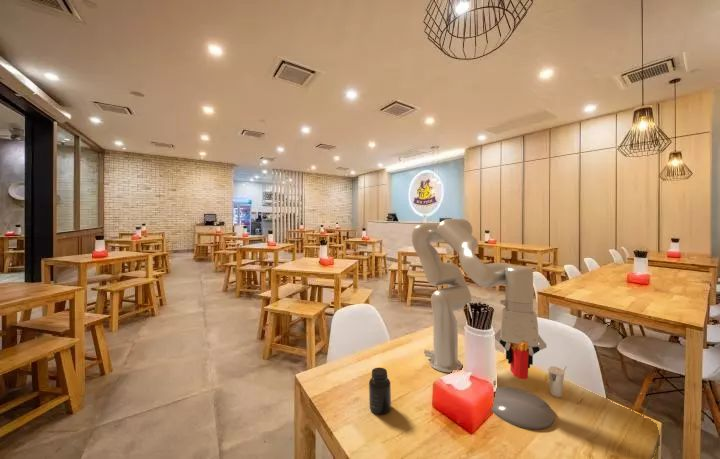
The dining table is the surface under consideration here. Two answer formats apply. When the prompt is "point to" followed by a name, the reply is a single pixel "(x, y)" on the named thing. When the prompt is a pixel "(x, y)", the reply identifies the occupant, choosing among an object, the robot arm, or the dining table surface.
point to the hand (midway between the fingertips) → (519, 363)
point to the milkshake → (556, 380)
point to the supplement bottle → (379, 392)
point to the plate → (522, 408)
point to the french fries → (519, 360)
